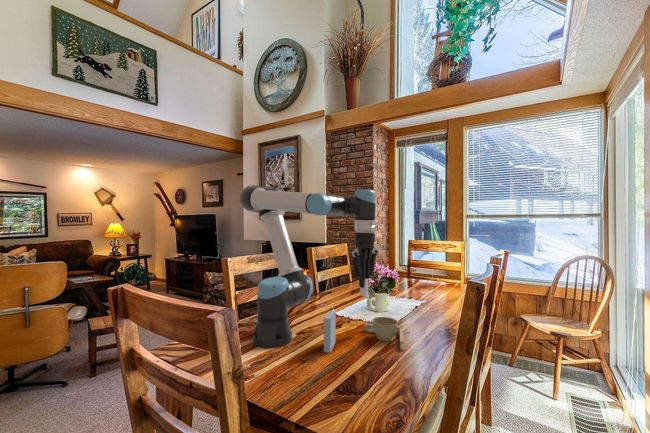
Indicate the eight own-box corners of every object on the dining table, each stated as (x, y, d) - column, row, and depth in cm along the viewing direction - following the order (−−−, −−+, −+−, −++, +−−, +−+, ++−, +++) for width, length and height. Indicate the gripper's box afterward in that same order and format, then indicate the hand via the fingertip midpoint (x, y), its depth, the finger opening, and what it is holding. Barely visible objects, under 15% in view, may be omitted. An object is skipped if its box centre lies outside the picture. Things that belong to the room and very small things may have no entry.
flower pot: (398, 345, 111) (398, 326, 111) (371, 343, 113) (371, 324, 113) (397, 335, 121) (397, 317, 121) (372, 333, 123) (372, 315, 123)
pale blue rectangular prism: (323, 352, 105) (324, 318, 105) (329, 341, 114) (329, 310, 114) (330, 352, 105) (330, 318, 105) (335, 342, 113) (335, 311, 113)
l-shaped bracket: (361, 345, 111) (361, 337, 111) (365, 330, 126) (365, 323, 126) (404, 350, 107) (404, 341, 107) (403, 333, 122) (403, 326, 122)
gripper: (360, 232, 102) (359, 301, 102) (383, 231, 111) (383, 295, 111) (345, 231, 108) (344, 296, 108) (368, 231, 116) (367, 291, 116)
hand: (364, 295), depth 109 cm, fingers closed
